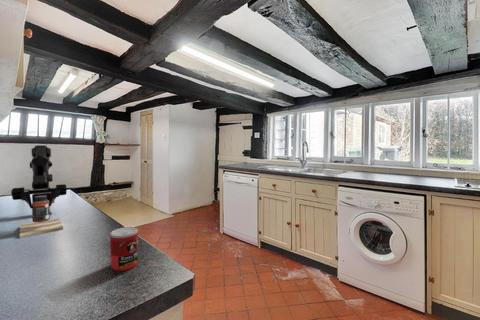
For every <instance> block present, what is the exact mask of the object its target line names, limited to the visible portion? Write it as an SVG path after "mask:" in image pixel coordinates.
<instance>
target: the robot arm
mask: <svg viewBox="0 0 480 320" xmlns="http://www.w3.org/2000/svg"><path fill="white" fill-rule="evenodd" d="M51 157H52V149H51V148H50V147H48V146H47V145H42V144H41V145H40V144H39V145H38V144H37V145H34V147H33V148H31V158H32V159H31V160H30V162H29V168H30V169H31V170H32V181H31V188H32V189H28V188H25V187H22V186H21V187H14V188H12V189H11V191H10V192H11V197H12V200H13V201H19V200H21V201H24V202H26V203H27V205H28V207H29V208H30V209H31V210H32V203H33V202H34V201H35V197H36V196H42V195H46V196H47V200H49V201H50V207H51V206H53V204H54V203H55V200H57V199H56V198H59V197H60V196H65V195H67V191H68V190H67V184H65V183H63V184H62V183H61V184H55V187H50V182H51V183H52V182H53V180H54V179H53V173H51V174H50V173H49V170H50V169H51V168H52V166H53V162H52V161H51V160H50V158H51ZM31 197H32V198H31ZM51 215H52V211H51V210H50V216H51Z"/></svg>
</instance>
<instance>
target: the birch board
mask: <svg viewBox="0 0 480 320" xmlns="http://www.w3.org/2000/svg"><path fill="white" fill-rule="evenodd" d="M62 230H64V226H63V224H62V222H61V220H60V218H53V219H51V218H50V219H49V220H48V221H44V222H33V221H32V222H29V223H23V224H22V223H21V224H20V225H19V239H24V238H27V237H33V236H38V235H43V234H48V233H53V232H59V231H62Z"/></svg>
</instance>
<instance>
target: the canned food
mask: <svg viewBox="0 0 480 320" xmlns="http://www.w3.org/2000/svg"><path fill="white" fill-rule="evenodd" d="M138 230H139V229H138V228H137V227H133V226H125V227H120V228H117V229H113V230H112V231H111V232H110V233H109V234H110V235H109V239H110V240H109V241H110V244H109V245H110V267H111V270H113V271H114V272H125V271H129V270H131V269H133V268H136V266H137V265H138V264H139V233H138Z"/></svg>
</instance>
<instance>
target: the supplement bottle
mask: <svg viewBox="0 0 480 320" xmlns="http://www.w3.org/2000/svg"><path fill="white" fill-rule="evenodd" d="M31 203H32V202H31ZM50 211H51V206H50V201H49V200H47V196H46V195H42V196H36V197H35V201H34V202H33V203H32V209H31V213H32V215H31V216H32V223H33V222H44V221H48V220H51V215H50Z"/></svg>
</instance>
